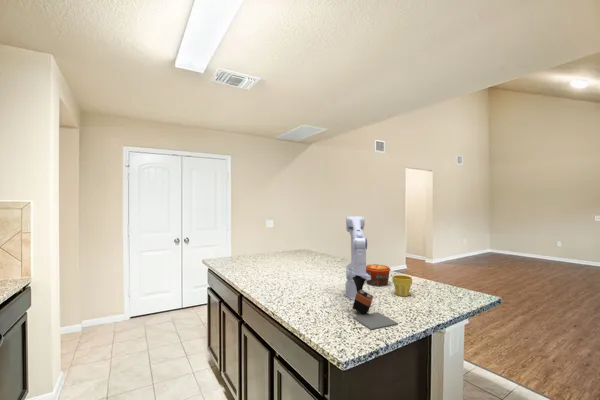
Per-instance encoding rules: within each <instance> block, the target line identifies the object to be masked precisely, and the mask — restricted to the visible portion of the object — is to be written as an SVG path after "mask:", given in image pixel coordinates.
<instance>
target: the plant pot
mask: <svg viewBox="0 0 600 400" xmlns="http://www.w3.org/2000/svg"><path fill="white" fill-rule="evenodd" d="M392 283H393V286H394V290H395V294H396V295H397V296H399V297H408V296H409V295H410V290H411V286H412V284H413V278H412V277H411V276H408V275H405V274H395V275H393V276H392Z"/></svg>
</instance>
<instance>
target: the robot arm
mask: <svg viewBox="0 0 600 400" xmlns="http://www.w3.org/2000/svg"><path fill="white" fill-rule="evenodd" d="M365 224H366V223H365V217H364V215H360V216H358V215H357V216H355V215H354V216H351V215H350V216H349V215H347V216H346V217H345V229H346V231H347V232H348V233H349V234H350V235H349V236H350V255H351V258H350V263H348V264H347V265H346V270H345V271H346V272H345V278H346V280H345V281H346V282H345V289H344V290H345V293H344V294H343V295H344V296H346V298H349V299H350V300H352V301H355V297H356V294H357V292H358V291H359V290H360V289H361V290H363V288H364V284H365V283H366V282H367V280H371V275H368V274H367V273H366V266H367V249H368V238H367V237H366V236H365V232H364V228H365Z"/></svg>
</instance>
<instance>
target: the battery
mask: <svg viewBox="0 0 600 400" xmlns="http://www.w3.org/2000/svg"><path fill="white" fill-rule="evenodd" d="M373 299H374V296H373V295H372V294H370V293H368V292H366V291H365V290H364V289H362V290H361V289H360V290H359V291H358V292H357V294H356V297H355V300H353V304H352V309H353V310H354V311H356V312H358V313H360V314H361V315H365V314H369V313H368V312H369V311H370V308H371V305H372V302H373Z"/></svg>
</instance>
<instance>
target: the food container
mask: <svg viewBox="0 0 600 400" xmlns="http://www.w3.org/2000/svg"><path fill="white" fill-rule="evenodd" d="M391 269H392V268H391V267H389V266H387V265H384V264H376V263H372V264H366V273H367V274H368V275H371V280H366V283H367V285H369V286H373V287H386V286H388V284H389V279H390V272H391Z"/></svg>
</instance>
